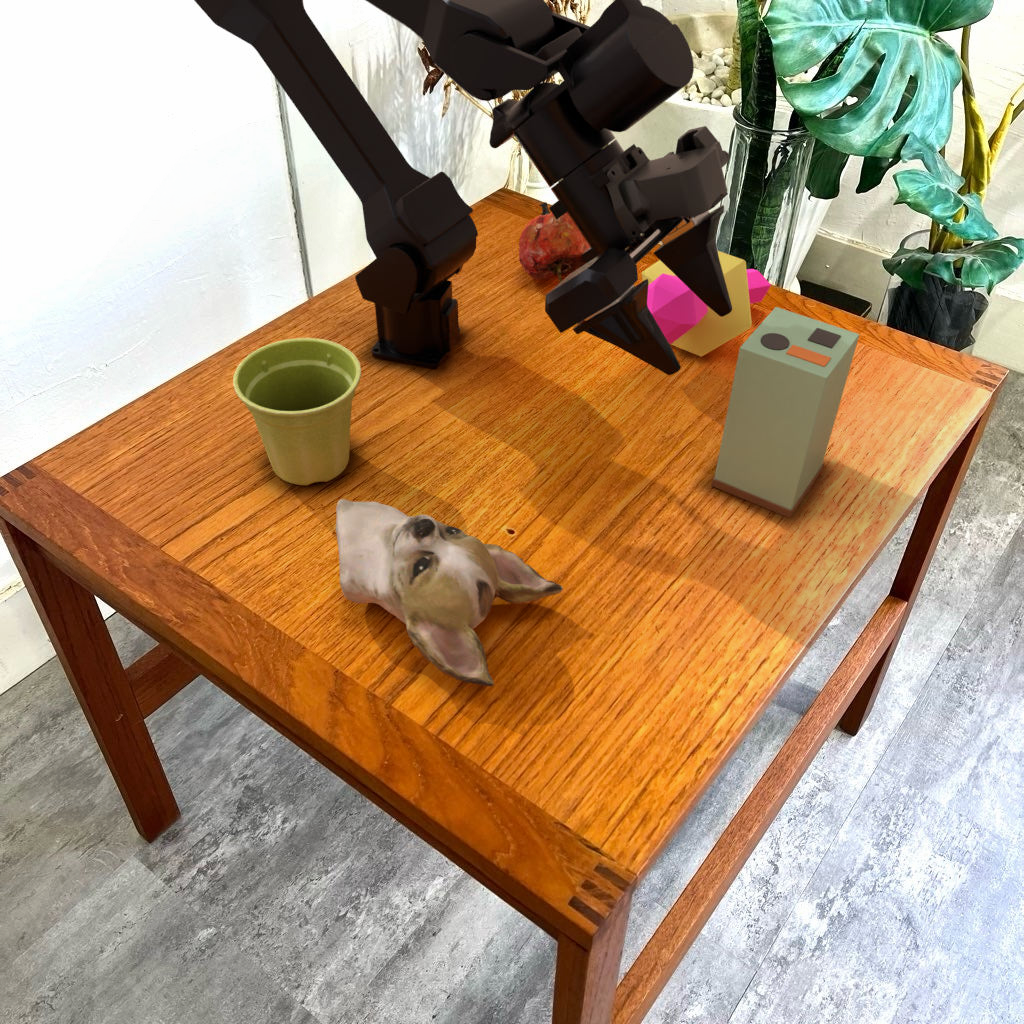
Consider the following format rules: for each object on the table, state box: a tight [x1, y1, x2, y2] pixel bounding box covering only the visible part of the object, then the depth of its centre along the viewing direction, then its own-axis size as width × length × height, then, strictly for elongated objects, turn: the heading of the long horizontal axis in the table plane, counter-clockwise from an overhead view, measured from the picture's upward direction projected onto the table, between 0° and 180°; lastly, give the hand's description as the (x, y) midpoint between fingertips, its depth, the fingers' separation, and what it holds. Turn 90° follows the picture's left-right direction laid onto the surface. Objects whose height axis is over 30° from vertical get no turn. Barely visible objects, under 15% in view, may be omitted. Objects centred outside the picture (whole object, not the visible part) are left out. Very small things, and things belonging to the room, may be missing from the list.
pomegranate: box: [518, 201, 590, 283], centre depth 101 cm, size 7×7×10 cm
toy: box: [641, 250, 772, 358], centre depth 93 cm, size 10×18×10 cm, turn 143°
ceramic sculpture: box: [335, 498, 564, 687], centre depth 68 cm, size 11×9×15 cm
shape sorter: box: [711, 306, 860, 519], centre depth 77 cm, size 7×7×13 cm
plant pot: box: [232, 337, 362, 486], centre depth 79 cm, size 9×9×9 cm
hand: (702, 342), depth 77 cm, fingers open, 9 cm apart
